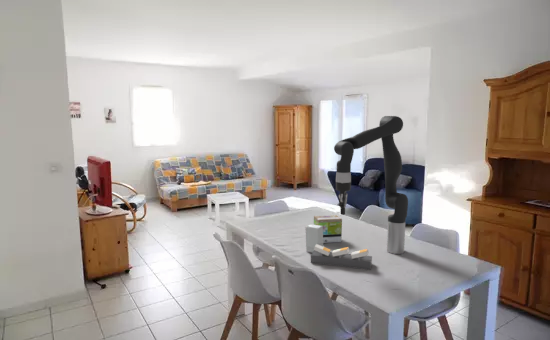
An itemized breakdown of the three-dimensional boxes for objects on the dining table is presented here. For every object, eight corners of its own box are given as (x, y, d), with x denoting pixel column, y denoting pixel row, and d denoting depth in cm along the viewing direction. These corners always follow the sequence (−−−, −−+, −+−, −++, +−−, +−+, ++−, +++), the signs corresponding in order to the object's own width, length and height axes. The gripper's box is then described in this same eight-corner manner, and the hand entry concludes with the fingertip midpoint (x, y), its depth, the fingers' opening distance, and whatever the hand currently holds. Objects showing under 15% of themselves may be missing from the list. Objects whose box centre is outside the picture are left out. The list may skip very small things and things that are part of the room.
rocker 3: (353, 255, 192) (351, 251, 192) (368, 252, 189) (367, 248, 189) (352, 258, 188) (350, 254, 188) (367, 255, 185) (366, 251, 185)
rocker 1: (315, 247, 198) (316, 243, 197) (329, 253, 195) (331, 249, 195) (313, 249, 194) (314, 246, 193) (328, 256, 192) (329, 252, 191)
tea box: (318, 244, 225) (318, 219, 223) (313, 239, 235) (313, 215, 233) (341, 242, 228) (342, 218, 226) (335, 237, 238) (336, 214, 236)
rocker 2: (334, 253, 195) (333, 249, 195) (349, 250, 192) (348, 246, 192) (333, 256, 191) (331, 252, 191) (348, 253, 188) (347, 249, 188)
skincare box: (323, 251, 212) (323, 225, 210) (318, 254, 207) (318, 228, 205) (310, 248, 216) (310, 223, 215) (305, 251, 212) (305, 225, 210)
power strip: (314, 257, 203) (314, 247, 202) (371, 263, 193) (372, 253, 192) (310, 262, 195) (310, 252, 194) (370, 269, 185) (370, 259, 185)
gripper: (338, 178, 199) (337, 210, 201) (333, 182, 186) (333, 216, 189) (352, 179, 196) (351, 211, 199) (349, 183, 184) (348, 218, 186)
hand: (342, 214), depth 194 cm, fingers closed
